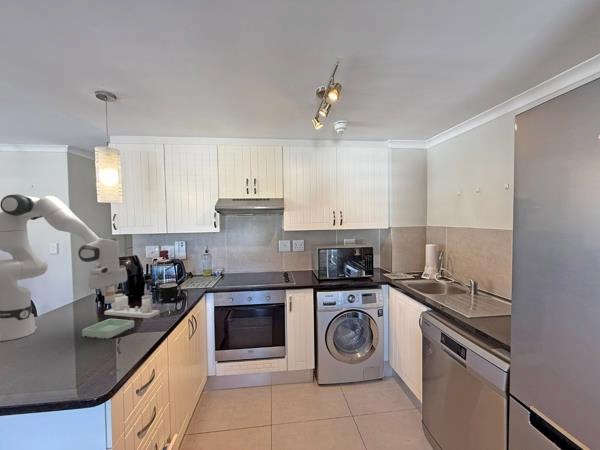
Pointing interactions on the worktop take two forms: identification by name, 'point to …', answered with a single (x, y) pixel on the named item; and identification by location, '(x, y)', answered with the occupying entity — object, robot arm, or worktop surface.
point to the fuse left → (118, 301)
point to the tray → (108, 328)
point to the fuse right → (145, 303)
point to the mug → (168, 293)
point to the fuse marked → (110, 294)
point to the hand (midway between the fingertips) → (109, 293)
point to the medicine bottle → (125, 298)
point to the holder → (132, 312)
